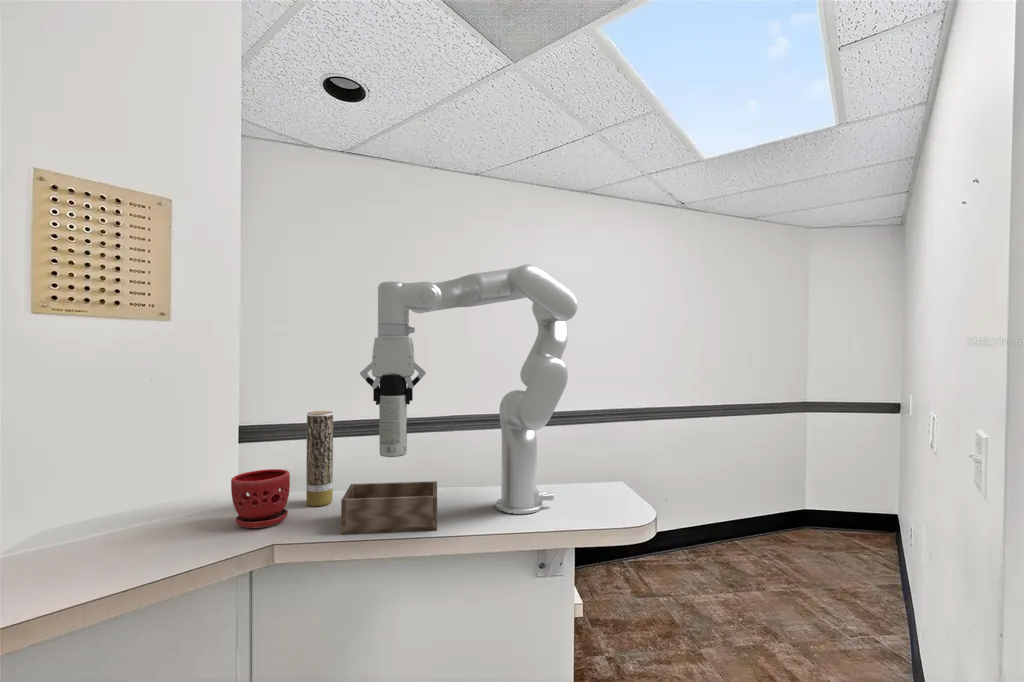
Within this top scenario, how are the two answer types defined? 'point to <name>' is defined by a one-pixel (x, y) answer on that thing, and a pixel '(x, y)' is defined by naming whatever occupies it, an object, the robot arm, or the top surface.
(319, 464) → the paper tube
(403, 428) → the spray can
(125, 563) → the top surface
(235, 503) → the plant pot
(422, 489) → the walnut box
